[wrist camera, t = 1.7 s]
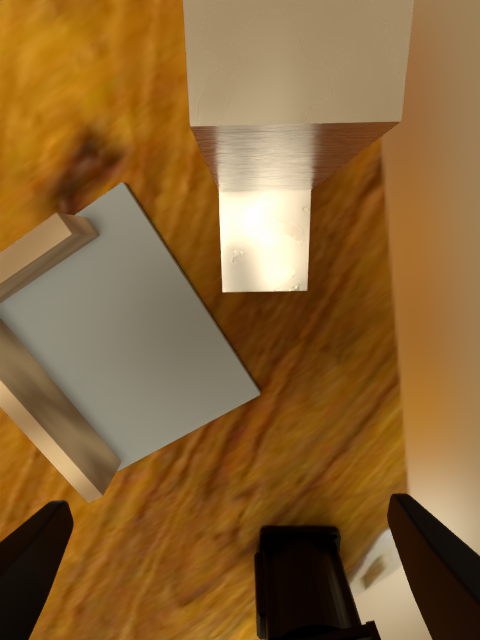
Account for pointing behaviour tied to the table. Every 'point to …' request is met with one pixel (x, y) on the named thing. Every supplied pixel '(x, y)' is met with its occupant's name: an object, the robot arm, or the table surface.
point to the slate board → (128, 335)
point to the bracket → (287, 115)
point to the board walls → (30, 378)
